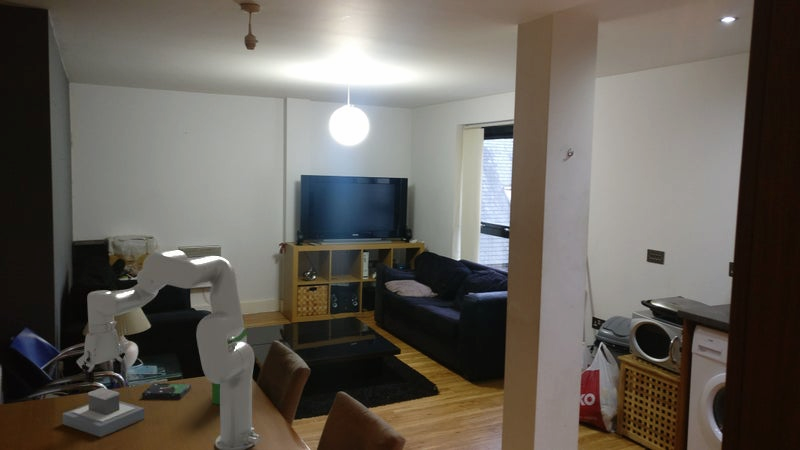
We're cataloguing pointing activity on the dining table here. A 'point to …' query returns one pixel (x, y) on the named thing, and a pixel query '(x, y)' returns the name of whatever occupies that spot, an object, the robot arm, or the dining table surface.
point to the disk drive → (166, 391)
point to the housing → (103, 401)
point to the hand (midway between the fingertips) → (104, 377)
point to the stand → (103, 419)
